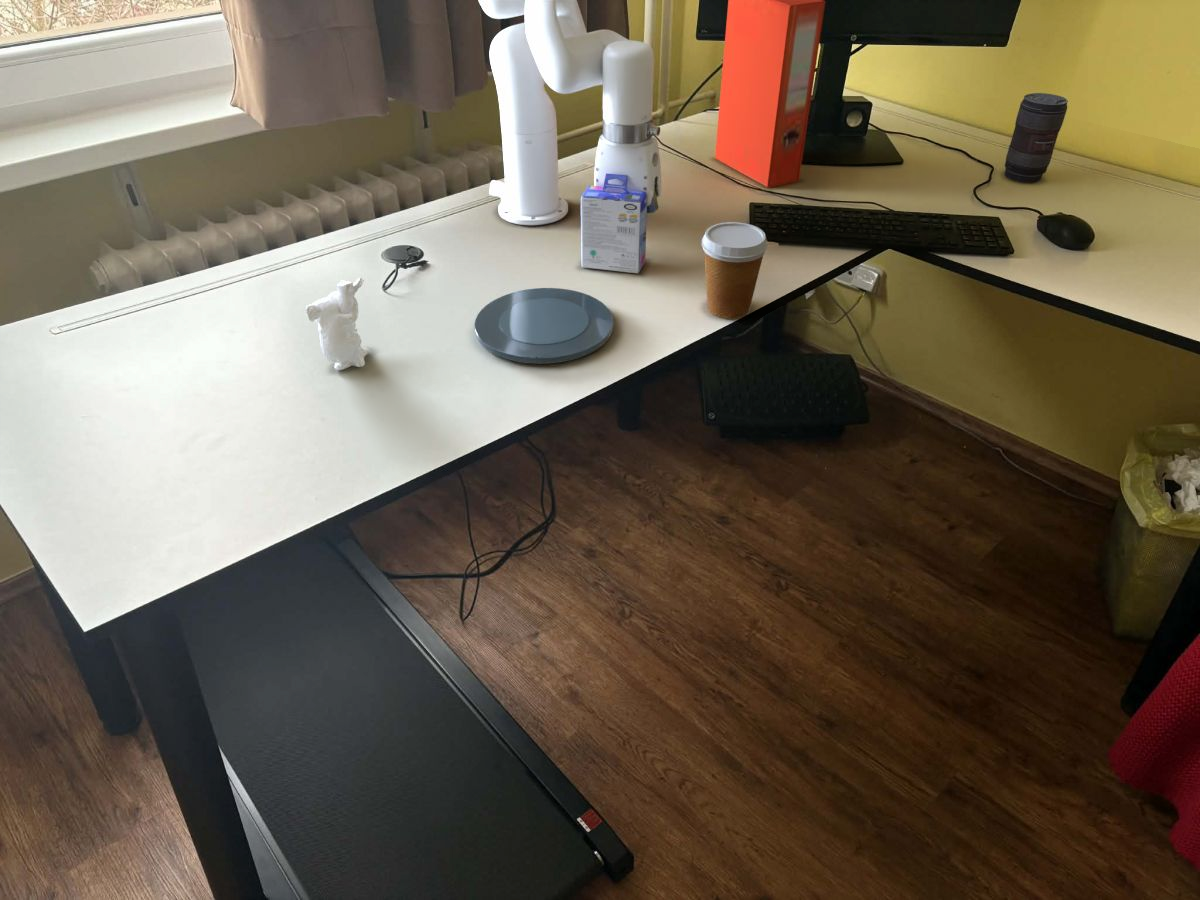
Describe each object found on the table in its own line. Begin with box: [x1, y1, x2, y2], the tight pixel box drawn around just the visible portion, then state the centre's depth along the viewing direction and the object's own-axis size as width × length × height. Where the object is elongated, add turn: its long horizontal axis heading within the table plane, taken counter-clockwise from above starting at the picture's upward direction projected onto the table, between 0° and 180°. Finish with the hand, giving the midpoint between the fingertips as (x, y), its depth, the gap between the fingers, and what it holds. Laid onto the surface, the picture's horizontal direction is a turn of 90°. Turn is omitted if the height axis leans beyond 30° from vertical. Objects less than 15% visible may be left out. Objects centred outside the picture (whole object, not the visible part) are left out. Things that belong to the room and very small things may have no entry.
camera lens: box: [1004, 92, 1069, 184], centre depth 171 cm, size 8×8×15 cm
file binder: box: [714, 0, 826, 189], centre depth 169 cm, size 8×17×32 cm, turn 29°
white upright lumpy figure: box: [305, 277, 370, 371], centre depth 120 cm, size 8×7×12 cm
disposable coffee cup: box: [700, 221, 769, 320], centre depth 132 cm, size 10×10×12 cm
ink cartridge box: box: [580, 173, 648, 274], centre depth 143 cm, size 10×6×14 cm, turn 76°
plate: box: [474, 287, 614, 365], centre depth 130 cm, size 20×20×2 cm
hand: (626, 240), depth 149 cm, fingers closed
